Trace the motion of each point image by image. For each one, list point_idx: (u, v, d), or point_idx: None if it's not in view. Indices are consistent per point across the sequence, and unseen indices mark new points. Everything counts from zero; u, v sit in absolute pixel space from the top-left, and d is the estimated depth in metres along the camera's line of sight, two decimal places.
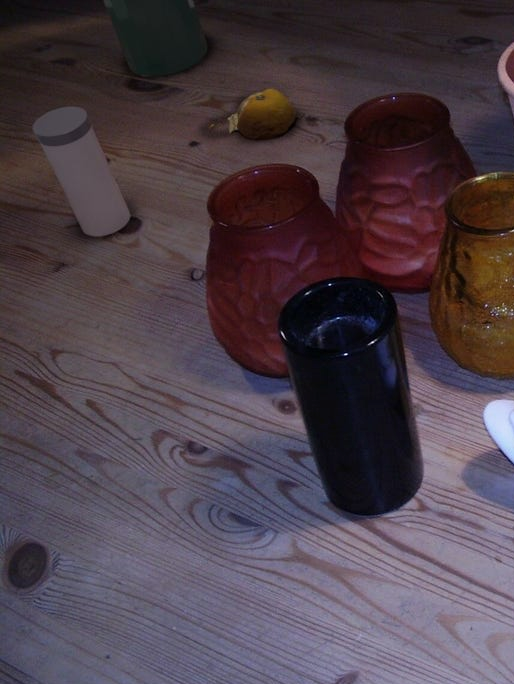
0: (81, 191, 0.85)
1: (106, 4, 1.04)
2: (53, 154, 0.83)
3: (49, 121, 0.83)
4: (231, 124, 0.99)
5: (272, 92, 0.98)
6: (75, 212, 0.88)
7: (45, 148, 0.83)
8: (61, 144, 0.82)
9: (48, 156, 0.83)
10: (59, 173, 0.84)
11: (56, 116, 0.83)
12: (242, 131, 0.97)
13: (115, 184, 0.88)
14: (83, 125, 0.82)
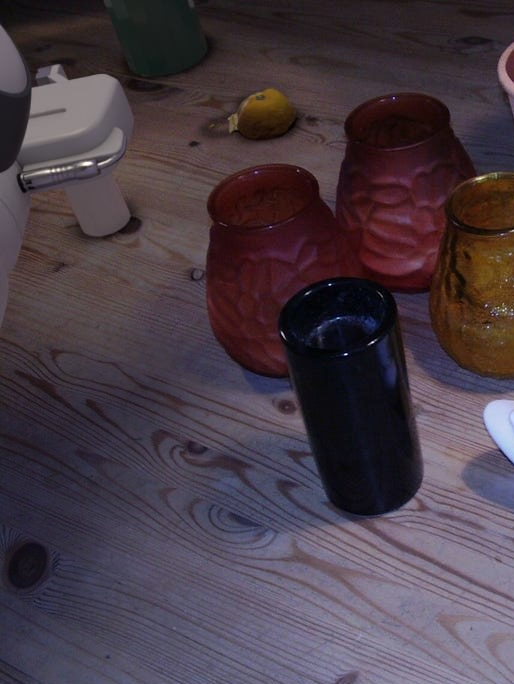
0: (81, 191, 0.85)
1: (106, 4, 1.04)
2: None
3: None
4: (231, 124, 0.99)
5: (272, 92, 0.98)
6: (75, 212, 0.88)
7: None
8: None
9: None
10: None
11: None
12: (242, 131, 0.97)
13: (115, 184, 0.88)
14: None
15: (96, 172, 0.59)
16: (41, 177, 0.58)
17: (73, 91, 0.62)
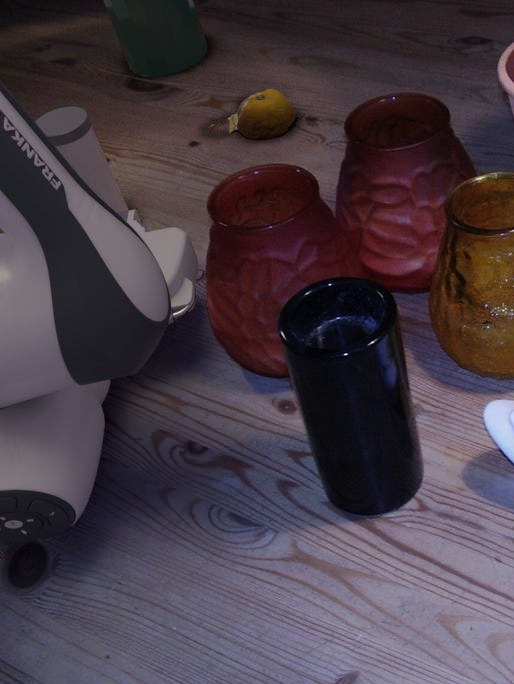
0: None
1: (106, 4, 1.04)
2: None
3: (49, 121, 0.83)
4: (231, 124, 0.99)
5: (272, 92, 0.98)
6: None
7: None
8: (61, 144, 0.82)
9: None
10: None
11: (56, 116, 0.83)
12: (242, 131, 0.97)
13: (115, 184, 0.88)
14: (83, 125, 0.82)
15: (172, 321, 0.72)
16: None
17: (151, 244, 0.75)
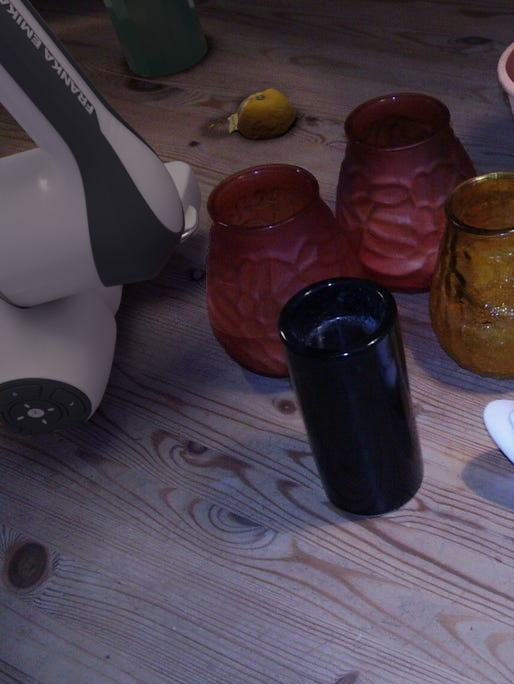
0: None
1: (106, 4, 1.04)
2: None
3: None
4: (231, 124, 0.99)
5: (272, 92, 0.98)
6: None
7: None
8: None
9: None
10: None
11: None
12: (242, 131, 0.97)
13: None
14: None
15: None
16: None
17: None
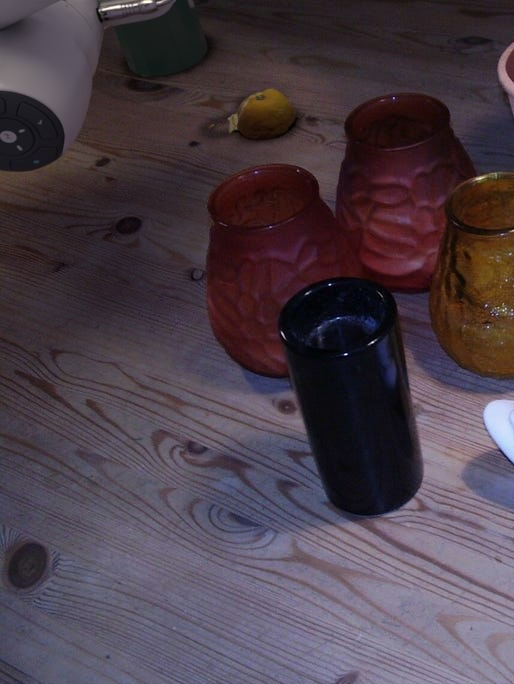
0: None
1: None
2: None
3: None
4: (231, 124, 0.99)
5: (272, 92, 0.98)
6: None
7: None
8: None
9: None
10: None
11: None
12: (242, 131, 0.97)
13: None
14: None
15: (155, 8, 0.78)
16: (114, 10, 0.77)
17: None
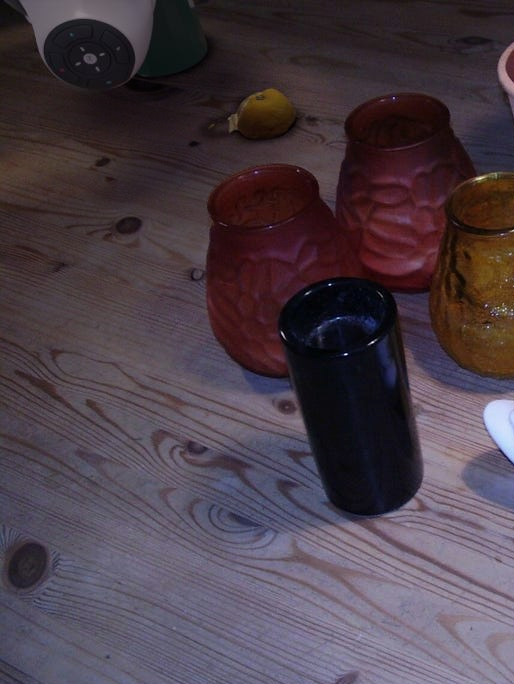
0: None
1: None
2: None
3: None
4: (231, 124, 0.99)
5: (272, 92, 0.98)
6: None
7: None
8: None
9: None
10: None
11: None
12: (242, 131, 0.97)
13: None
14: None
15: None
16: None
17: None
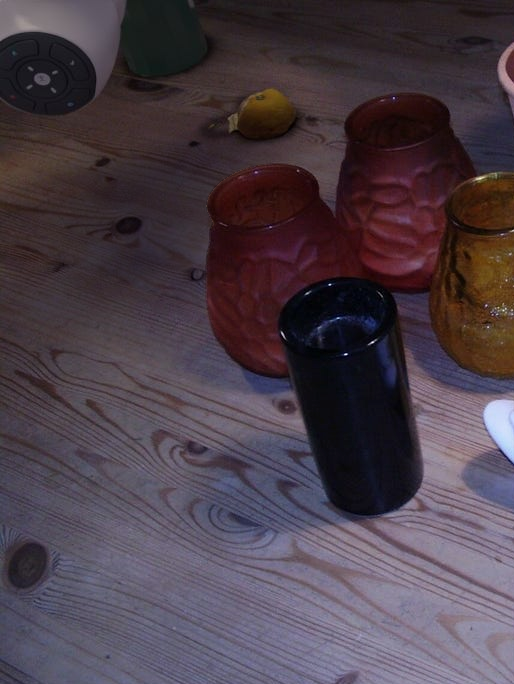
0: None
1: None
2: None
3: None
4: (231, 124, 0.99)
5: (272, 92, 0.98)
6: None
7: None
8: None
9: None
10: None
11: None
12: (242, 131, 0.97)
13: None
14: None
15: None
16: None
17: None
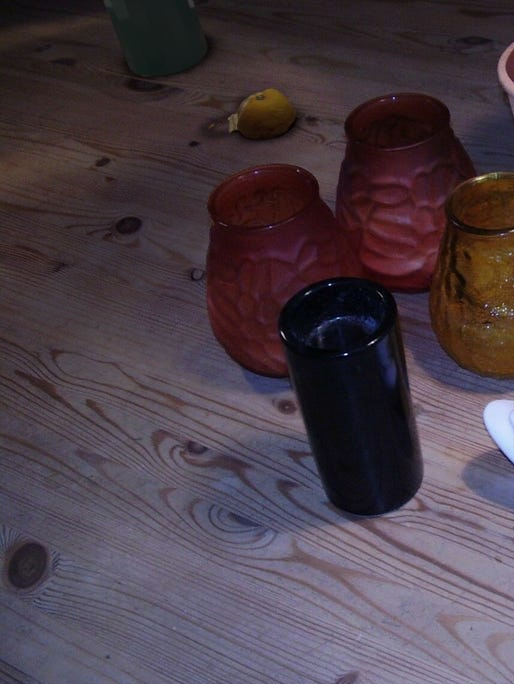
0: None
1: (106, 4, 1.04)
2: None
3: None
4: (231, 124, 0.99)
5: (272, 92, 0.98)
6: None
7: None
8: None
9: None
10: None
11: None
12: (242, 131, 0.97)
13: None
14: None
15: None
16: None
17: None
